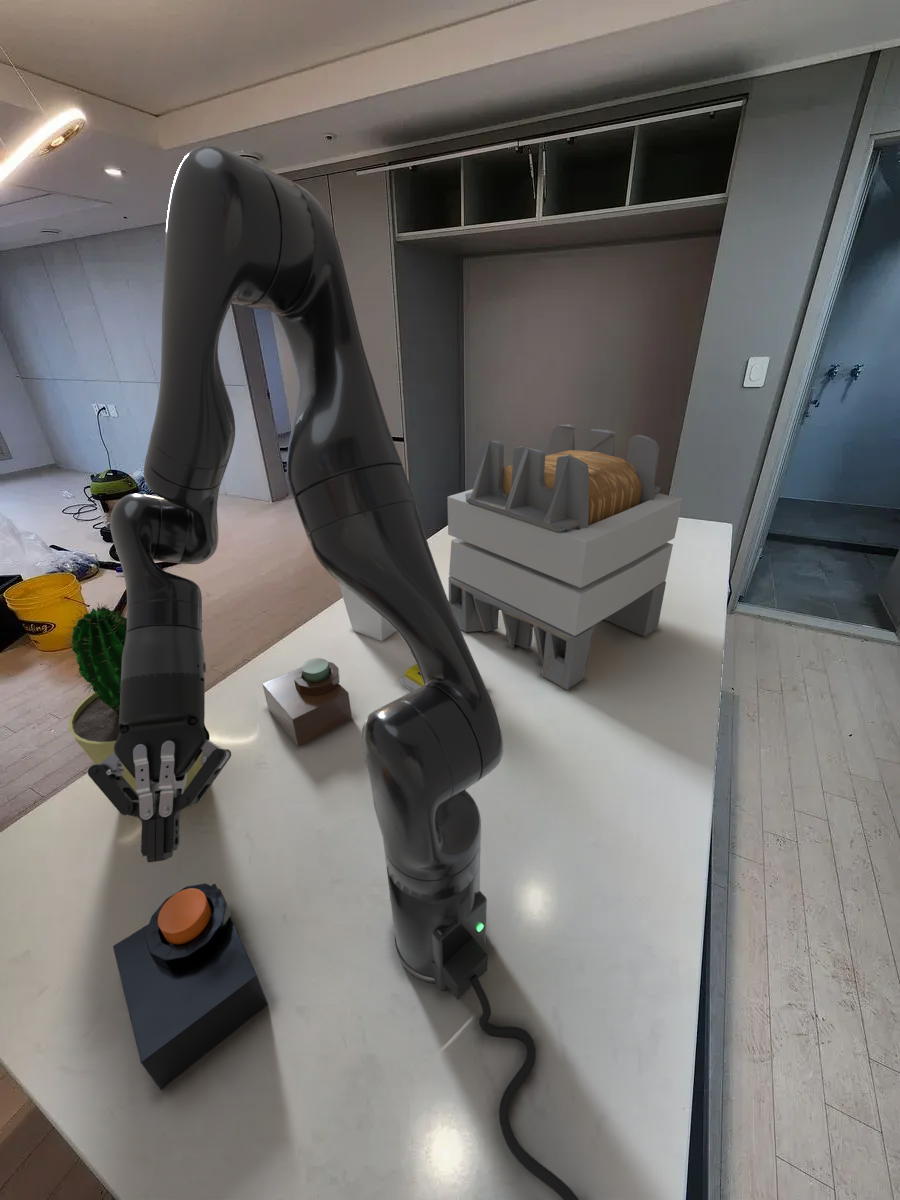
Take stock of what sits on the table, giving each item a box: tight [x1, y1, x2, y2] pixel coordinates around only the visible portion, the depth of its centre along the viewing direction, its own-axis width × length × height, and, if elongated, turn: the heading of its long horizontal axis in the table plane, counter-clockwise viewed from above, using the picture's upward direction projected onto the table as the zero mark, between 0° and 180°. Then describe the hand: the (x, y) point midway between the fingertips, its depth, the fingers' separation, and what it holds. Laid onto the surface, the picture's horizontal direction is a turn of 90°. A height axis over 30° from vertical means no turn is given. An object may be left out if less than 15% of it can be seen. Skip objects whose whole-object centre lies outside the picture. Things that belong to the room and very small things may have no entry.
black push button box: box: [112, 882, 269, 1091], centre depth 50 cm, size 12×10×8 cm
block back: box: [262, 661, 353, 747], centre depth 87 cm, size 12×11×8 cm
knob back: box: [301, 657, 330, 683], centre depth 86 cm, size 4×4×2 cm
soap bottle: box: [337, 581, 397, 642], centre depth 107 cm, size 12×10×26 cm
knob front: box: [158, 888, 211, 945], centre depth 51 cm, size 4×4×2 cm
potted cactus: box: [60, 602, 203, 791], centre depth 69 cm, size 15×15×30 cm
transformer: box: [446, 423, 683, 691], centre depth 103 cm, size 34×33×41 cm
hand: (160, 859), depth 48 cm, fingers closed
